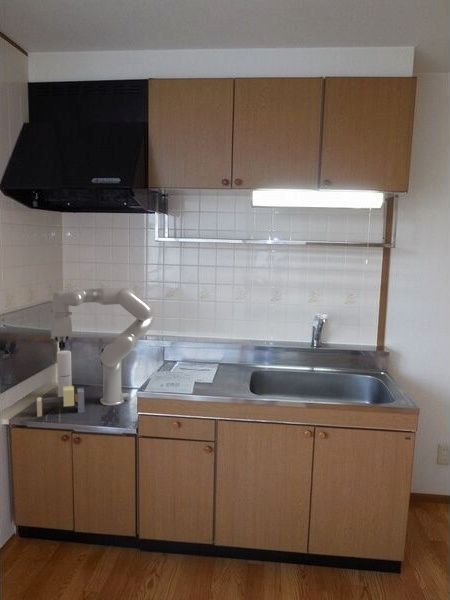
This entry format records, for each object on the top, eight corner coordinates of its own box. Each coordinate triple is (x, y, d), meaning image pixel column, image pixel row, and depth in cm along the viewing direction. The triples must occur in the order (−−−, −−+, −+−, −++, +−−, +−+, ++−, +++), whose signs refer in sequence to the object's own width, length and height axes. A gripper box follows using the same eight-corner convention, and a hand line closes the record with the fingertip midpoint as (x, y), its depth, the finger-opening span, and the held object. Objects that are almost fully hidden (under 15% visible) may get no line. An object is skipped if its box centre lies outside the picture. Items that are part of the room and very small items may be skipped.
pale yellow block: (74, 401, 229) (73, 385, 228) (74, 405, 223) (74, 389, 222) (63, 402, 227) (63, 386, 226) (63, 406, 222) (63, 390, 220)
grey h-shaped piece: (83, 407, 231) (83, 387, 229) (84, 412, 226) (84, 391, 224) (37, 412, 224) (37, 391, 222) (37, 417, 218) (36, 395, 216)
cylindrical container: (67, 399, 242) (66, 354, 238) (55, 397, 243) (54, 353, 239) (74, 394, 248) (73, 351, 244) (62, 393, 250) (61, 350, 246)
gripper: (76, 312, 236) (76, 346, 239) (45, 313, 231) (46, 348, 234) (76, 315, 229) (77, 350, 232) (45, 316, 224) (46, 351, 227)
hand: (62, 348), depth 233 cm, fingers closed
